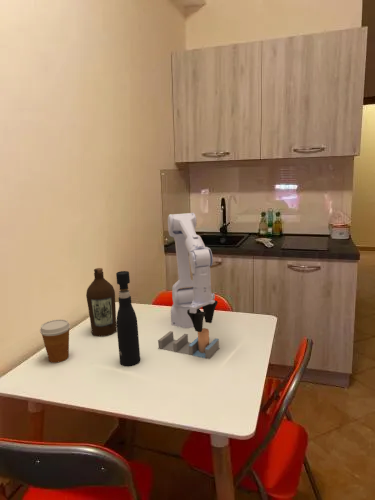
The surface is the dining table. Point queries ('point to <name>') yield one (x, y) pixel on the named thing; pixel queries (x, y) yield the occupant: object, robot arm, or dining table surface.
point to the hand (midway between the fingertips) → (203, 326)
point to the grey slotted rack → (187, 346)
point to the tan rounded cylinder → (203, 340)
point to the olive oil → (101, 305)
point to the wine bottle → (127, 324)
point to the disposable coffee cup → (56, 339)
